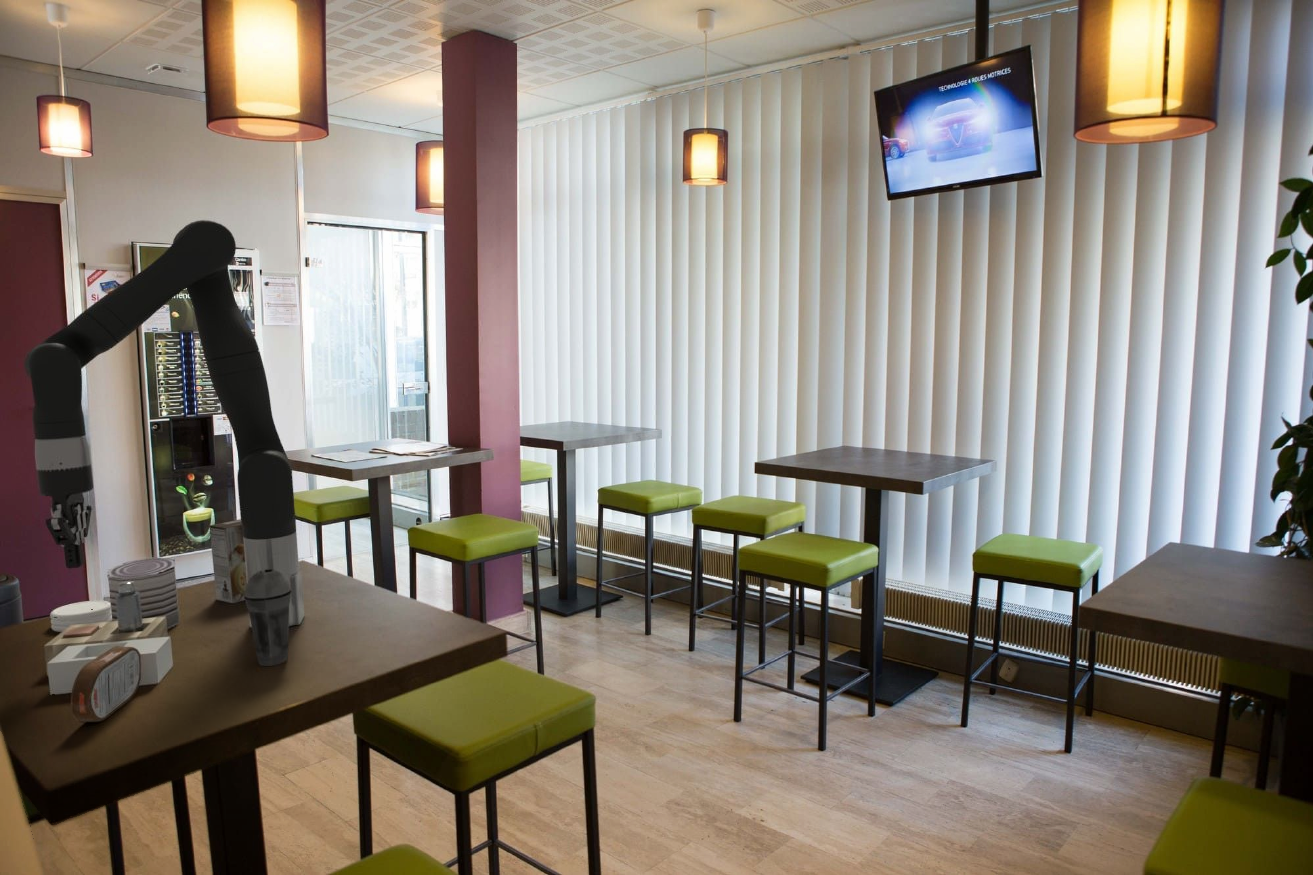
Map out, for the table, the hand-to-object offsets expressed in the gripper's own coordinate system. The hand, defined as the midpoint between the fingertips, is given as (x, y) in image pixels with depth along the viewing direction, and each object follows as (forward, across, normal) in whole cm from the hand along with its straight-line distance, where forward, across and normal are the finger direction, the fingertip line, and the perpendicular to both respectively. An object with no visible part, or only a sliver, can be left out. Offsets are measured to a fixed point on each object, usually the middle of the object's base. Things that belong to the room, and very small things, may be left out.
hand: (75, 566), depth 147 cm
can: (+17, +18, -4) cm, 25 cm away
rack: (+16, -11, -8) cm, 21 cm away
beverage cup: (+17, -10, -31) cm, 37 cm away
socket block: (+16, 0, -4) cm, 17 cm away
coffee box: (+17, +34, -18) cm, 42 cm away
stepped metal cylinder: (+17, 0, -7) cm, 18 cm away
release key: (+16, 0, 0) cm, 16 cm away
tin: (+17, -24, -11) cm, 32 cm away
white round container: (+17, +24, +9) cm, 31 cm away
